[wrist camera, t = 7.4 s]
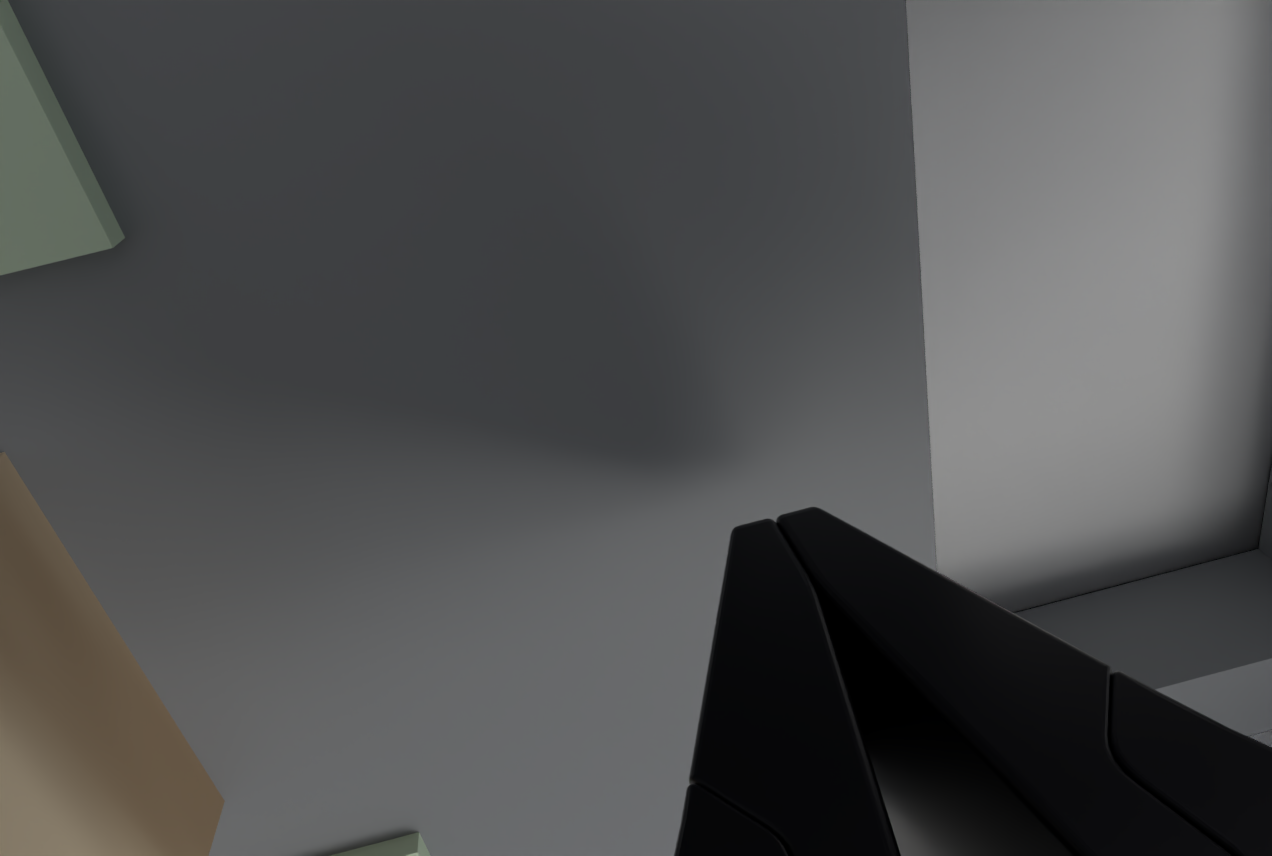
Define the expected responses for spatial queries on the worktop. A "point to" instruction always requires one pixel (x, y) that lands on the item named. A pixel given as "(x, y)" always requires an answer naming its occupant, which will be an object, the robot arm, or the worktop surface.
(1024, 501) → the worktop surface
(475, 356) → the trap deck
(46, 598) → the maple block
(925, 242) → the worktop surface
